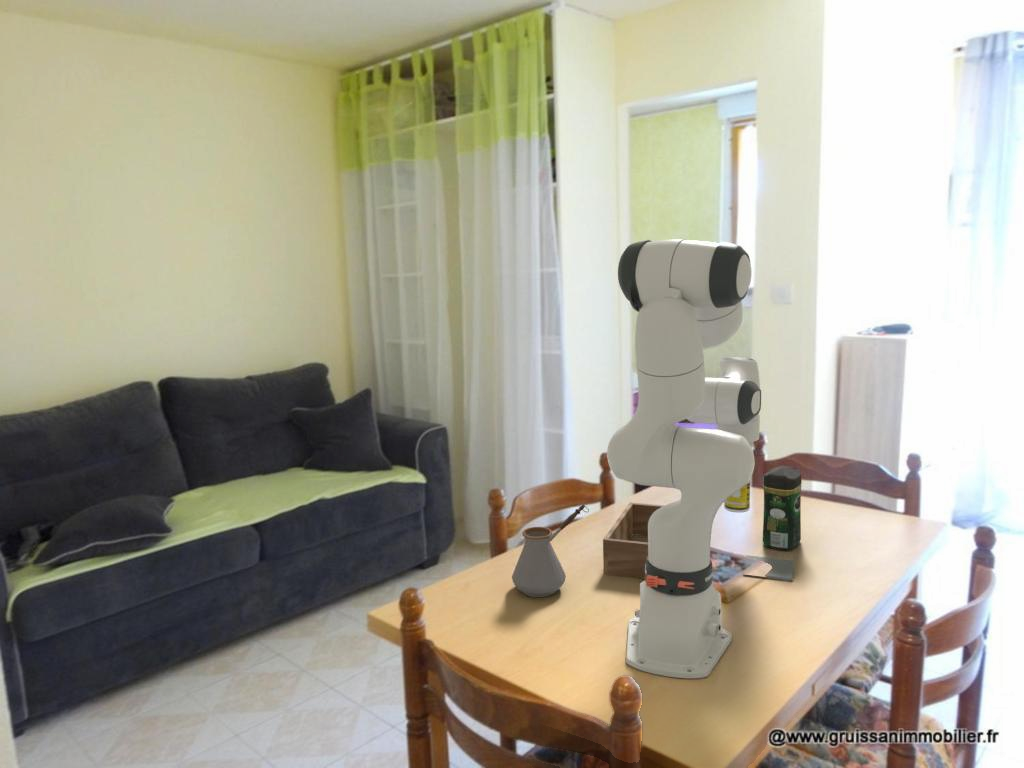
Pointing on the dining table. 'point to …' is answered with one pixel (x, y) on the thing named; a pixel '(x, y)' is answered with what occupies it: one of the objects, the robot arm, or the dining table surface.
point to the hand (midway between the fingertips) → (737, 491)
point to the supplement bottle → (739, 501)
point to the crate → (628, 542)
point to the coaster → (777, 568)
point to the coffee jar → (782, 508)
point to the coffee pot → (540, 561)
